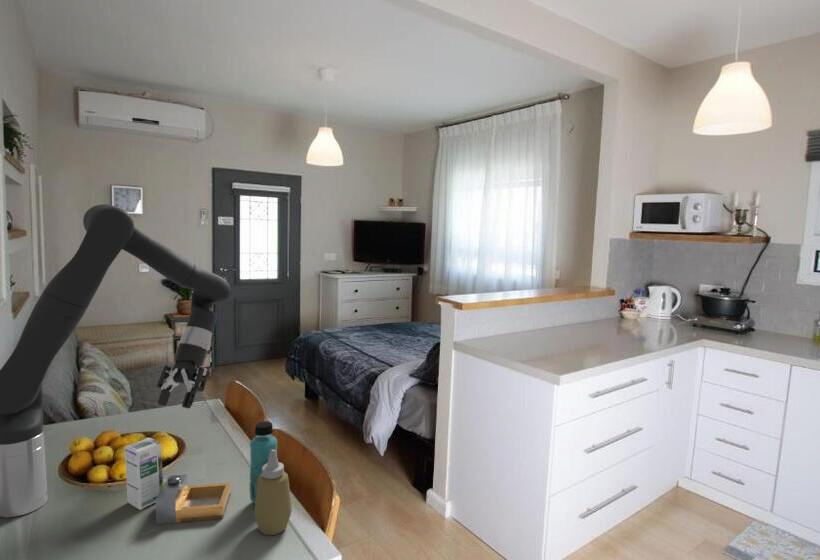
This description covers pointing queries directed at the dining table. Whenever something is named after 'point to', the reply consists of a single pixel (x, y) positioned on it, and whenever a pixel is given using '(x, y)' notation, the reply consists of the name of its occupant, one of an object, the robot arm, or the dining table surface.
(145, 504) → the syrup box
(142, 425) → the dining table surface
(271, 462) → the squeeze bottle
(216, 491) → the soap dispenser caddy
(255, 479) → the beverage bottle
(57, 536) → the dining table surface
